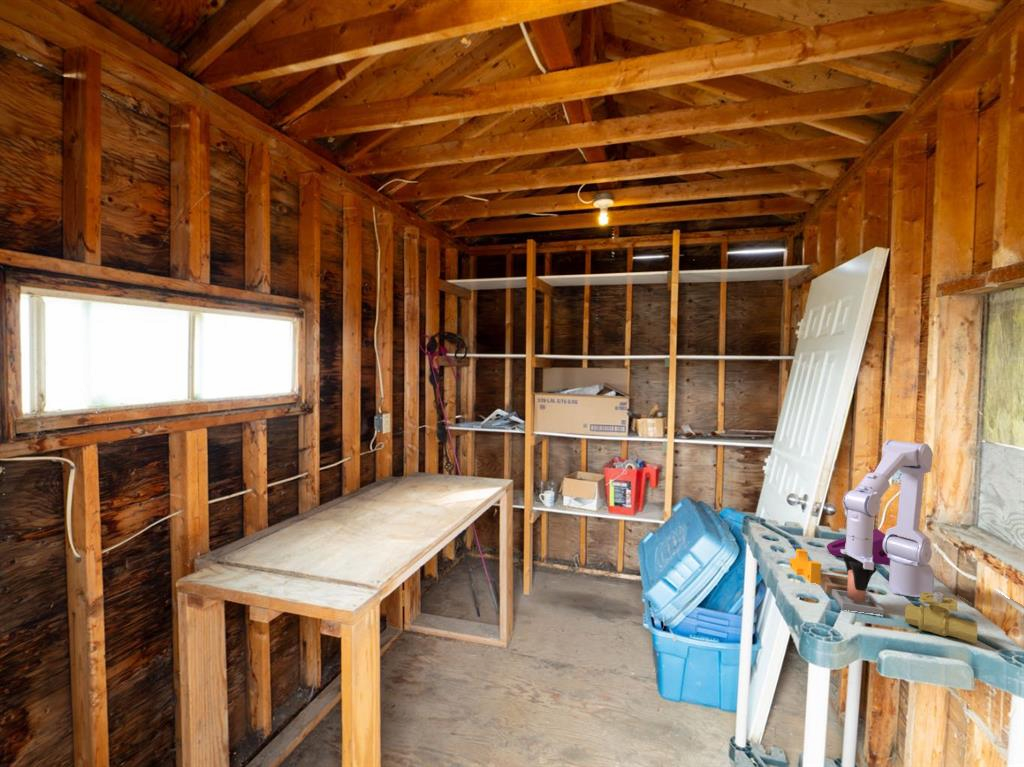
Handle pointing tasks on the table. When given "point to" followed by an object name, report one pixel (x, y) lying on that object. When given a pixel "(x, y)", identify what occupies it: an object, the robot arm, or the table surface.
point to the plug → (854, 589)
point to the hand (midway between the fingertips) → (857, 586)
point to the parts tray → (856, 603)
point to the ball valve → (940, 617)
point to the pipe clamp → (806, 566)
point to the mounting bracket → (877, 548)
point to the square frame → (833, 583)
